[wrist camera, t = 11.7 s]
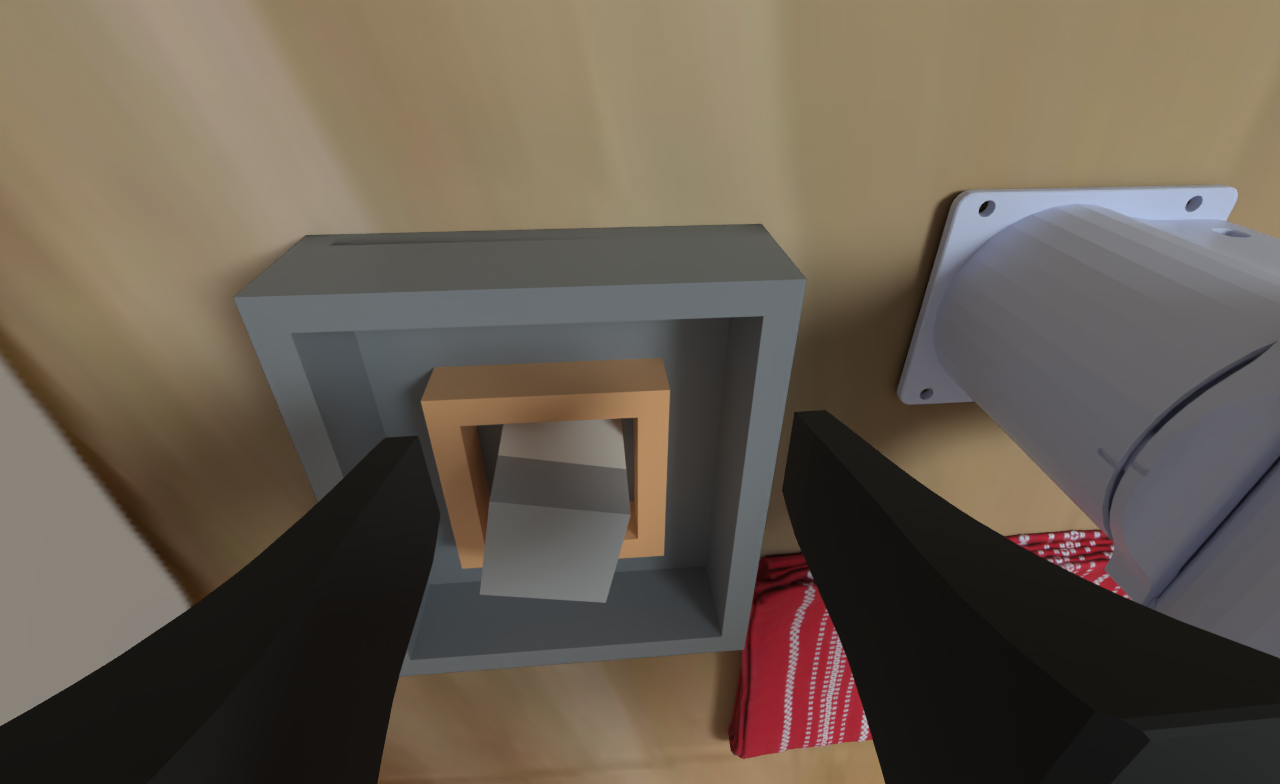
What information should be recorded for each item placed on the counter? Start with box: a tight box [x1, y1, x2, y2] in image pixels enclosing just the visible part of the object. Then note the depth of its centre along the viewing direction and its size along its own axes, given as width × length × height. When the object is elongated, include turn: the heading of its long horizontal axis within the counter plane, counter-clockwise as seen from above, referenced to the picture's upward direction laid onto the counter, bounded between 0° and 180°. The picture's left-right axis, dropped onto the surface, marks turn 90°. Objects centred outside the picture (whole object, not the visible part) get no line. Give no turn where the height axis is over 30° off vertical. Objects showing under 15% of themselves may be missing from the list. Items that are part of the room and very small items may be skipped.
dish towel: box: [728, 530, 1133, 759], centre depth 32 cm, size 17×24×3 cm
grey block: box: [480, 418, 631, 603], centre depth 20 cm, size 4×4×5 cm
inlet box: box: [233, 224, 807, 676], centre depth 21 cm, size 14×16×4 cm
